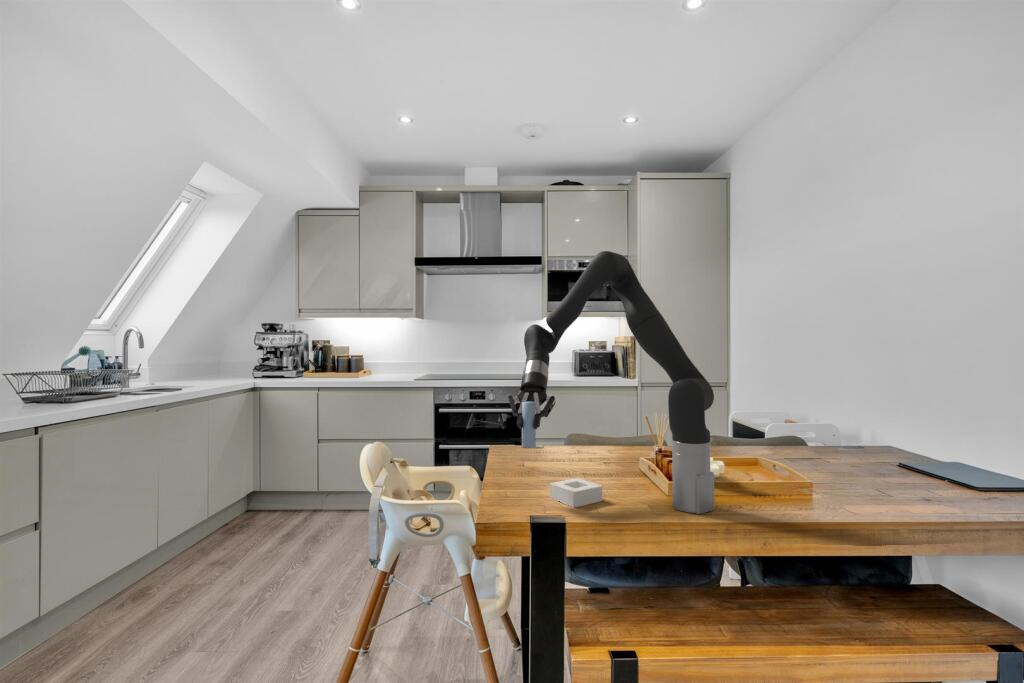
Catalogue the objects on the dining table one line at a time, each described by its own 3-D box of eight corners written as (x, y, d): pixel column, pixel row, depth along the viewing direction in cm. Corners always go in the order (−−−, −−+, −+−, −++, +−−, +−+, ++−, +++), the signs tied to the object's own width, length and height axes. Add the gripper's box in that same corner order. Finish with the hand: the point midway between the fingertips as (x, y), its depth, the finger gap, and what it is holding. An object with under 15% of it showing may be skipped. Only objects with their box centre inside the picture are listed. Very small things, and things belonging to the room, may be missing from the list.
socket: (602, 500, 140) (602, 486, 140) (573, 507, 134) (573, 492, 134) (578, 491, 148) (578, 477, 148) (550, 497, 143) (549, 483, 143)
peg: (538, 446, 142) (537, 402, 142) (527, 448, 140) (527, 403, 140) (530, 444, 145) (530, 401, 145) (520, 445, 143) (519, 402, 143)
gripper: (509, 370, 151) (499, 418, 140) (557, 370, 148) (552, 419, 137) (513, 387, 157) (504, 434, 145) (560, 387, 154) (555, 436, 142)
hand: (527, 427), depth 141 cm, fingers closed on peg, 3 cm apart
